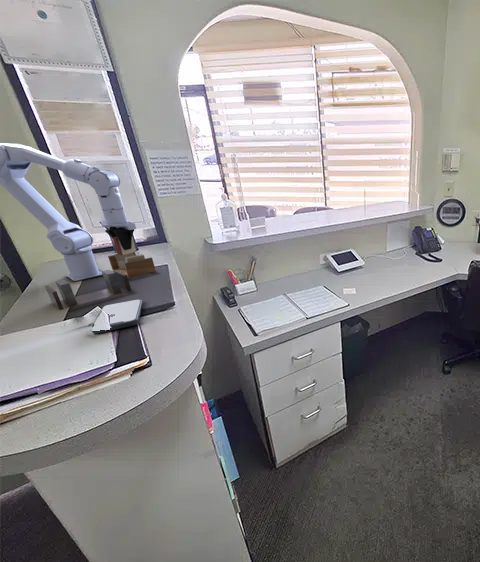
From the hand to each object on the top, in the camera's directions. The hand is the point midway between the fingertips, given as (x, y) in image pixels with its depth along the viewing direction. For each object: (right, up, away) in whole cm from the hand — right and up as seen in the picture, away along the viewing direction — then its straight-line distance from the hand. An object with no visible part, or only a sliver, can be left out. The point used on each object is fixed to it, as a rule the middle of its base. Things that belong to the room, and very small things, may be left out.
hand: (125, 249), depth 107 cm
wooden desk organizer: (0, -8, +4) cm, 9 cm away
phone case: (+22, -21, -28) cm, 41 cm away
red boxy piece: (0, -1, +1) cm, 2 cm away
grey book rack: (+5, -16, -18) cm, 25 cm away
